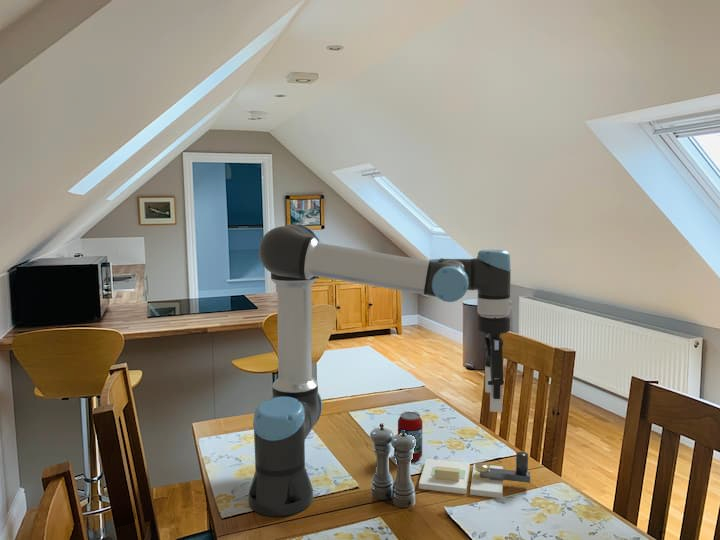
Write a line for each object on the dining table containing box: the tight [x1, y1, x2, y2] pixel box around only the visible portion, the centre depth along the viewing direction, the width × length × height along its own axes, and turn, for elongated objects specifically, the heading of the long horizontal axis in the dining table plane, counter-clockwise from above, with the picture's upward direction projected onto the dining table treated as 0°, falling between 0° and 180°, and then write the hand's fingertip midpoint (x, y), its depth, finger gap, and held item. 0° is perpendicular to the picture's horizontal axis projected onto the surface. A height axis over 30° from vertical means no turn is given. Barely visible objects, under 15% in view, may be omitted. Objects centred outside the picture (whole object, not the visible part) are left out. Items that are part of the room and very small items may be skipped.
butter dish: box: [418, 458, 471, 495], centre depth 147 cm, size 14×12×4 cm
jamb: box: [470, 463, 504, 499], centre depth 145 cm, size 14×8×2 cm, turn 166°
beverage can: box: [397, 411, 423, 462], centre depth 159 cm, size 7×7×12 cm
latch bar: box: [474, 451, 531, 484], centre depth 143 cm, size 13×4×7 cm, turn 76°
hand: (493, 401), depth 139 cm, fingers open, 13 cm apart
